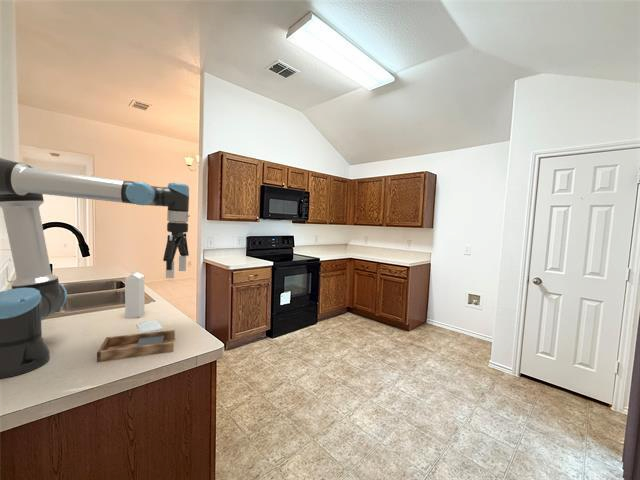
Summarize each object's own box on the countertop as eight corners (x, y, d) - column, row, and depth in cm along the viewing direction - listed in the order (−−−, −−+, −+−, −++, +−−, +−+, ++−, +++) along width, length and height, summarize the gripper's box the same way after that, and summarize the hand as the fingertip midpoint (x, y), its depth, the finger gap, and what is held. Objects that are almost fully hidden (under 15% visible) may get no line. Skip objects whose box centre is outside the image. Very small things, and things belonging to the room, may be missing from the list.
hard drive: (136, 323, 122) (141, 332, 113) (157, 319, 128) (164, 328, 119) (136, 327, 123) (141, 336, 113) (157, 322, 128) (164, 332, 119)
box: (96, 364, 91) (96, 352, 91) (106, 347, 102) (106, 337, 102) (173, 353, 101) (173, 342, 100) (174, 339, 111) (174, 329, 111)
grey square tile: (136, 353, 97) (136, 347, 97) (139, 343, 105) (139, 337, 104) (162, 350, 101) (162, 343, 101) (164, 340, 108) (164, 334, 108)
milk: (144, 313, 137) (145, 269, 135) (139, 318, 131) (139, 271, 129) (130, 313, 136) (130, 268, 134) (124, 318, 130) (125, 271, 128)
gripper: (176, 223, 101) (174, 281, 103) (197, 222, 125) (195, 268, 127) (153, 222, 100) (152, 280, 101) (179, 221, 124) (177, 268, 126)
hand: (176, 274), depth 114 cm, fingers open, 13 cm apart
